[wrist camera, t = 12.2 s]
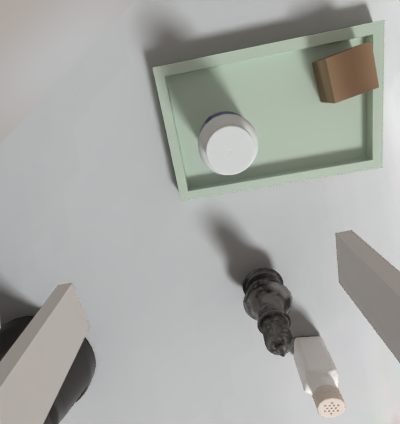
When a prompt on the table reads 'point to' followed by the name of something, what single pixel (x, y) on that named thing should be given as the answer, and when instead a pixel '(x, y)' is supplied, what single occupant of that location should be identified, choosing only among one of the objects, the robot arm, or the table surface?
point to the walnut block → (346, 73)
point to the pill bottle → (227, 143)
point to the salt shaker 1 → (269, 308)
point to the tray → (273, 112)
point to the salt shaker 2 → (318, 375)
